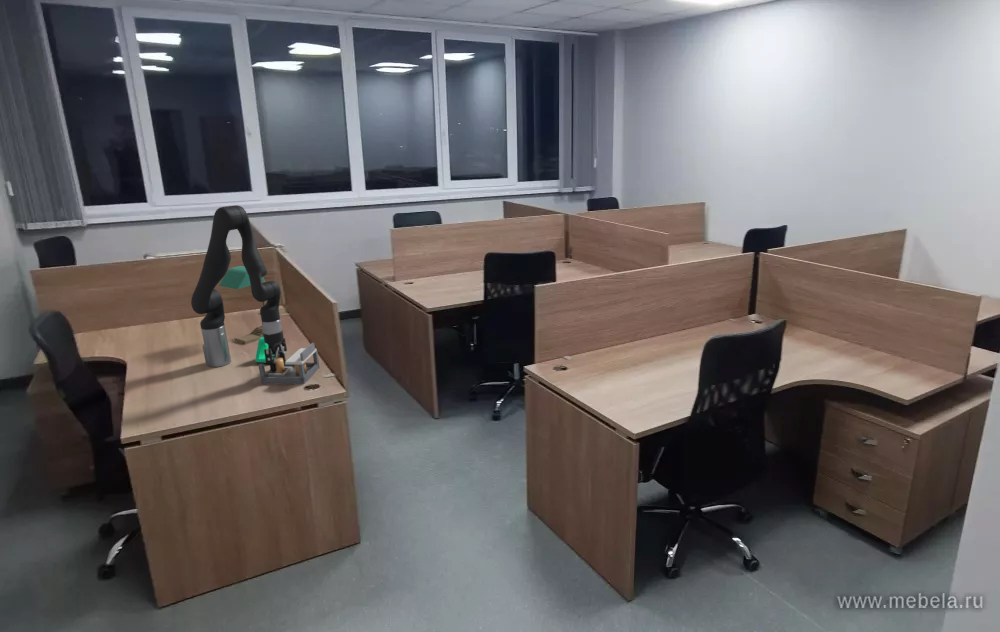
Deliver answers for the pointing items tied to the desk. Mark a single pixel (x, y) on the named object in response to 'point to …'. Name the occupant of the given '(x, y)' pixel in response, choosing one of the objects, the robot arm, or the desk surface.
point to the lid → (302, 355)
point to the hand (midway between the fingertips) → (278, 367)
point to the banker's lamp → (237, 280)
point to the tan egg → (279, 365)
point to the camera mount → (261, 350)
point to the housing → (291, 372)
